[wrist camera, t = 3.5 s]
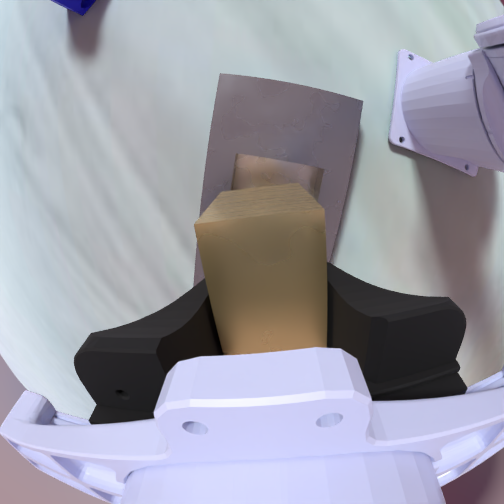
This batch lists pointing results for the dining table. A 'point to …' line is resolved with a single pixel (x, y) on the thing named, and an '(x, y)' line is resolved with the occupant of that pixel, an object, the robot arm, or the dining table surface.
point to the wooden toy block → (266, 268)
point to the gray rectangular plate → (281, 144)
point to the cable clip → (76, 5)
